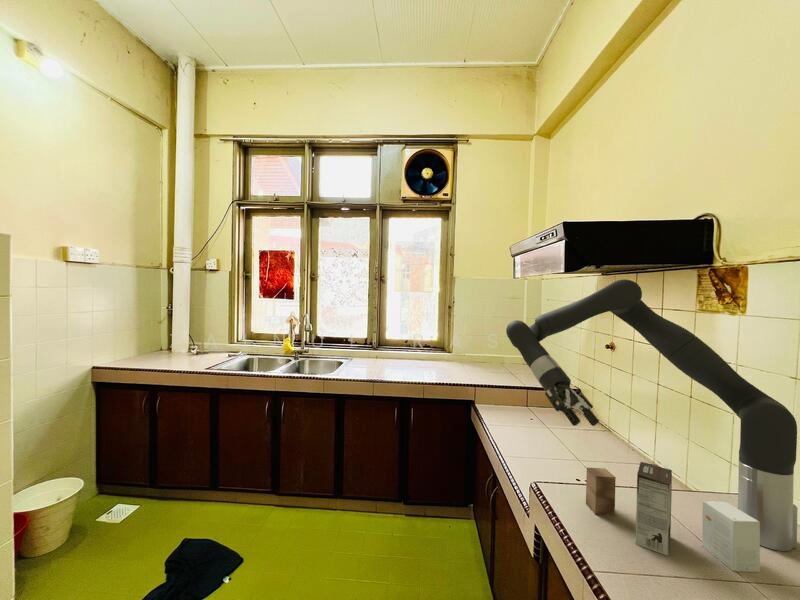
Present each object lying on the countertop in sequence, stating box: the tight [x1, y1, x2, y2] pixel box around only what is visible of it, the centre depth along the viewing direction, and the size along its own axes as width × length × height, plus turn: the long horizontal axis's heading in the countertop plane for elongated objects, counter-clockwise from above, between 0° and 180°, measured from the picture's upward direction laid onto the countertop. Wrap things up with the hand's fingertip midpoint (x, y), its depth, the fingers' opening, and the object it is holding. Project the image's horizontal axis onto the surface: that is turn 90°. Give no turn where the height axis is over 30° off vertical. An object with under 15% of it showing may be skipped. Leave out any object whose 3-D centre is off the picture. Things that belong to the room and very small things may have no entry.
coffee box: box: [635, 461, 673, 557], centre depth 83 cm, size 9×6×16 cm
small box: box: [701, 500, 761, 573], centre depth 78 cm, size 8×6×10 cm
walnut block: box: [585, 467, 617, 517], centre depth 95 cm, size 5×5×10 cm
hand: (587, 424), depth 92 cm, fingers open, 8 cm apart
